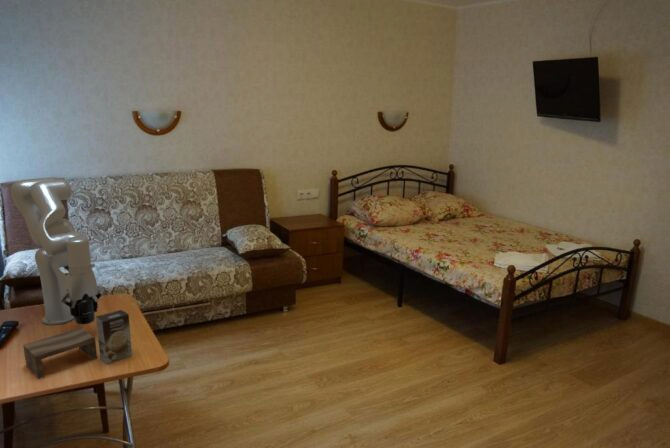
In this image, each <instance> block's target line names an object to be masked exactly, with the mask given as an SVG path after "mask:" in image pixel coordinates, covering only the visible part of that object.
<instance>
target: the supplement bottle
mask: <svg viewBox="0 0 670 448" xmlns="http://www.w3.org/2000/svg"><path fill="white" fill-rule="evenodd" d="M75 307H76V310H77V317H76V318H74V321H75V323H76V324H77V325H88V324H91V323H94V321H95V319H96V315H95V314H96V313H95V312H94V300H93V298H92V297H89V296H88V295H87V294H84V296H83V298H82V299H81V300H77V302H76V304H75Z"/></svg>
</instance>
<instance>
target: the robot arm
mask: <svg viewBox="0 0 670 448" xmlns="http://www.w3.org/2000/svg"><path fill="white" fill-rule="evenodd" d="M10 195H11V198H12V201H13V204H14V205H15V206H16V208H17V209H18V210H19V212H20V213H21V215H22V217H23V219H24V221H25V224H26V227H27V228H28V232H29V234H30V237H31V240H32V241H33V242H34V244H35V245H37V246H41V248H39V249H37V250H36V252H35V253H34V259H35V264H36V267H37V269H38V273H39V277H40V285H41V291H42V299H43V306H44V307H43V308H44V311H45V312H44V316H43V317H42V318H41V323H43V324H44V325H50V326H52V325H60V324H62V325H63V324H65V323H68V322H71V321H73V320H75V318H76V317H77V310H76V307H75V304H76V302H77V300H81V299H82V298H83V296H84V294H87V295H88V296H89V297H92V298H93V300H94V312H96V313H97V312H98V309H99V308H98V307H99V306H98V302H99V299H100V298H101V296H102V295H103V293H104V291H105V288H103V287H102V286H99V285H98V284H97V279H96V276H95V272H94V270H93V268H95V266H96V265H95V263H92V262H91V261H92V260H91V253H90V252H91V251H90V250H91V249H90V241H89V239H88V237H86V236H85V235H84V234H83V233H82V232H80V231H76V229H75V227H74V224H73V223H72V222H71V221H70V220H69V219H67V218H64V217H65V215H66V213H67V212H66V211H67V210H66V208H65V205H64V204H63V203H62V202H63V201H65V200H70V199H71V198H72V195H73V189H72V186H71V185H70V183H69V182H68V181H67V180H65V179H64V178H60V177H59V178H58V177H53V176H52V177H41V178H40V177H39V178H29V179H22V180H19V181H15V182H14V183H13V184H11V187H10ZM67 266H68V273H66V274H65V272H63V271H61V269H62V268H64V267H67ZM60 268H61V269H60Z"/></svg>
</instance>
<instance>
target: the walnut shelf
mask: <svg viewBox="0 0 670 448" xmlns="http://www.w3.org/2000/svg"><path fill="white" fill-rule="evenodd" d="M96 343H97V342H96V337H95V336H93V335H92V334H91V333H89V331H87V330H85V329H84V328H83V327H78V328H75V329H71V330H68V331H64V332H62V333H58V334H55V335H52V336H48V337H45V338H42V339H39V340H36V341H32V342H29V343H25V344H23V345H22V347H23V352H24V353H23V354H24V360H25V365H26V367H27V368H28V369H29V370H30V372H31V373H32V374H34V376H35V377H37V379H38V380H39V379H43V378H44V377H45V375H44V374H45V373H44V367H43V359H47V358H49V357H53V356H56V355H59V354H62V353H65V352H68V351H71V350H74V349H77V348H78V350H80V351H81V352H82V353H84V354H85V356H87V357H88V358H90V359H91V360H93V361H94V360H96V359H98V351H97V344H96Z"/></svg>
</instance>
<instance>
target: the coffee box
mask: <svg viewBox="0 0 670 448" xmlns="http://www.w3.org/2000/svg"><path fill="white" fill-rule="evenodd" d="M95 319H96V328H97V340H98V350H99V359H100V360H102V362H104V363H105V364H107V365H108V364H111V363H115V362H118V361H120V360H123V359H124V360H125V359H127V358H129V357H132V356H133V350H132V349H133V348H132V340H131V339H132V338H131V327H130V326H131V325H130V315H129V314H128V313H127V312H126V311H125V310H122V309H119V310H116V311H115V310H114V311H111V312H108V313H107V312H106V313H103V314H100V315H95Z"/></svg>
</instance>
